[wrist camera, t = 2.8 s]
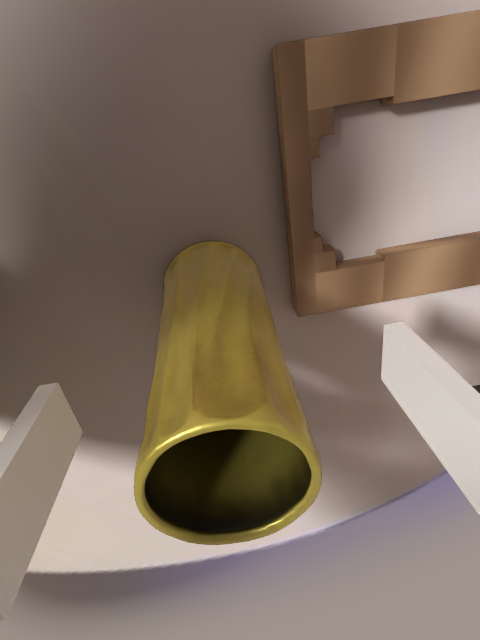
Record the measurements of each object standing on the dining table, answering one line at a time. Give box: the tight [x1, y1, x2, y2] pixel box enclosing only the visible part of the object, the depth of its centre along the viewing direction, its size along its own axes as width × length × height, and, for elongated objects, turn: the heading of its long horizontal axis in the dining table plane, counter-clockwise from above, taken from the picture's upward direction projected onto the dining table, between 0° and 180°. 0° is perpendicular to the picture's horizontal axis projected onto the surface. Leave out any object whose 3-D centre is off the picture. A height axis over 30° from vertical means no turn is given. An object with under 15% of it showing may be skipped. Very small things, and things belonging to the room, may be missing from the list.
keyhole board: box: [272, 10, 480, 317], centre depth 20 cm, size 18×14×1 cm
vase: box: [134, 241, 322, 545], centre depth 16 cm, size 6×6×14 cm
